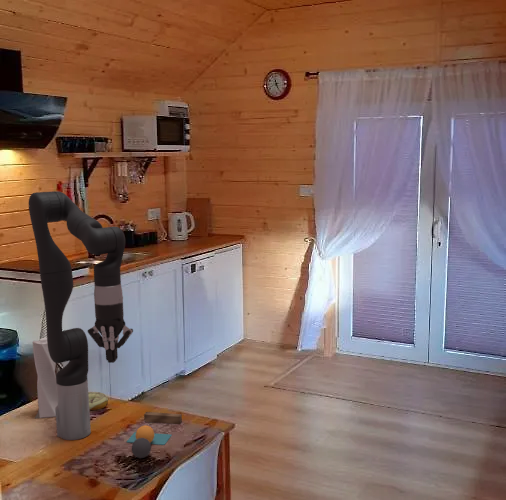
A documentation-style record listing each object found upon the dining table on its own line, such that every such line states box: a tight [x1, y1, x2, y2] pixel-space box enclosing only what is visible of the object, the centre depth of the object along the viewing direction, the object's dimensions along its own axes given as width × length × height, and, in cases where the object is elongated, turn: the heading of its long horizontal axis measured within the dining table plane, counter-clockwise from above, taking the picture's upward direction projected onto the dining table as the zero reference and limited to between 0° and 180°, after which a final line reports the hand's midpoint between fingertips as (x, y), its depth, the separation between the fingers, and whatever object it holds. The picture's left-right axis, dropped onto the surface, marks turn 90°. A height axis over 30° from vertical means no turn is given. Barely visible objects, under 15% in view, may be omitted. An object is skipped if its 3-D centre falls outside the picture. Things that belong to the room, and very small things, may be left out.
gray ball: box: [131, 438, 152, 459], centre depth 181 cm, size 6×6×6 cm
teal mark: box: [126, 431, 173, 446], centre depth 193 cm, size 12×7×1 cm, turn 78°
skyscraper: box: [32, 336, 58, 419], centre depth 211 cm, size 8×8×28 cm
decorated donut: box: [88, 391, 109, 411], centre depth 220 cm, size 10×11×4 cm
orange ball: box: [135, 425, 155, 443], centre depth 190 cm, size 6×6×6 cm
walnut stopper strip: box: [143, 411, 183, 425], centre depth 205 cm, size 12×2×2 cm, turn 79°
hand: (112, 361), depth 176 cm, fingers closed
